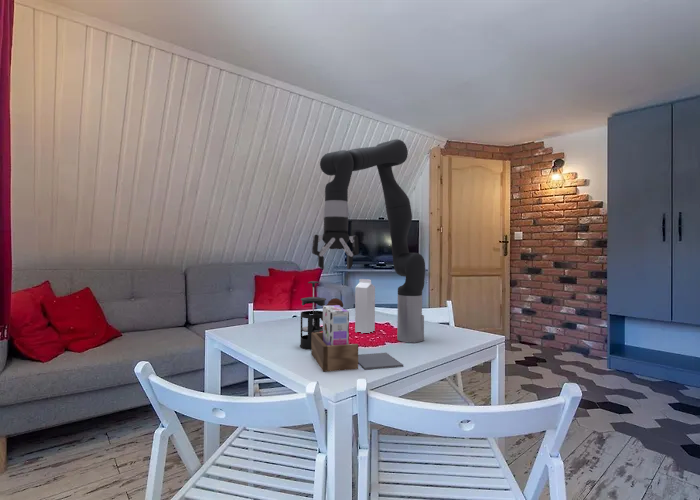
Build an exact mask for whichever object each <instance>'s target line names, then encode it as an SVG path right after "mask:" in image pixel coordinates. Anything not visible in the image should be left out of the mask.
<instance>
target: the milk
mask: <svg viewBox="0 0 700 500" xmlns="http://www.w3.org/2000/svg"><path fill="white" fill-rule="evenodd" d="M358 281H359V282H358V283H357V285H356V286H355V290H354V295H355V299H354V303H355V304H354V307H355V308H354V311H355V312H354V332H355V333H357V332H361V333H360V334H363V333H369V334H371V333H370V332H372V333H374V332H373V331H375V332H376V330H375V329H376V328H375V327H376V325H375V324H376V323H375V322H376V286H375V285H374V284H373V283H372V280H371V279H367V278H366V279H365V278H359V280H358Z"/></svg>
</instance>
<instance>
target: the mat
mask: <svg viewBox="0 0 700 500" xmlns="http://www.w3.org/2000/svg"><path fill="white" fill-rule="evenodd" d="M358 366H360V367H361V368H362V369H363V370H364V371H367V370H379V369H381V370H382V369H390V368H391V369H394V368H403V367H404V364H403V363H401V362H400V361H399V360H398V359H396V358H395V357H394V356H392V355H391V354H390V353H388V352H375V353H364V354H363V353H362V354H359V353H358Z"/></svg>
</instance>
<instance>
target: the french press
mask: <svg viewBox="0 0 700 500" xmlns="http://www.w3.org/2000/svg"><path fill="white" fill-rule="evenodd" d="M307 283H308V284H311V286H312V287H311V288H312V296H308V297H302V298H300V301H301V305H302V306H305V305H307V304H312V310H304V311H301V312H300V345H299V348H300V349H303V350H309V351H311V333H315V332H323V326H321V318H323V310H315V304H316V305H317V306H319V307H323V306H326V300H327V298H325V297H318V296H315V287H316V284H320V282H319V281H315V280H311V281H308V282H307ZM303 318H304V319H307V325H306V326H303ZM303 332H305V333H307V334H305V335H303Z"/></svg>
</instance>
